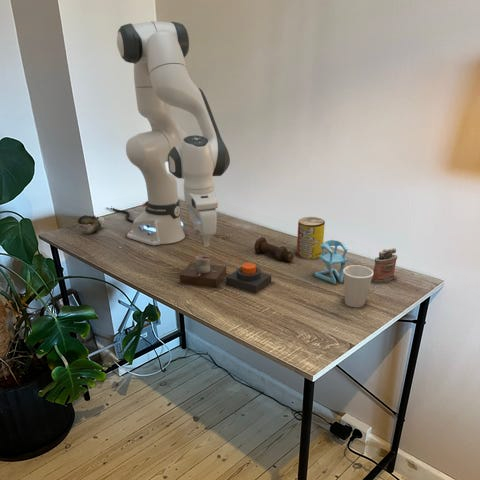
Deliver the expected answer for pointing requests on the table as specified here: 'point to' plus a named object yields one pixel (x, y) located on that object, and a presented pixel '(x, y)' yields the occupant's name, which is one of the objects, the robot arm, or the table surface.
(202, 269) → the knob
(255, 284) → the button box
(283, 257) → the bolt
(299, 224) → the beverage can
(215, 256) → the table surface
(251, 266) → the button
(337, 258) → the chair
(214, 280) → the dial base
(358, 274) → the dixie cup
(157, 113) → the robot arm
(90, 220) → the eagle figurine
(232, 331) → the table surface
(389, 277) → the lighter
